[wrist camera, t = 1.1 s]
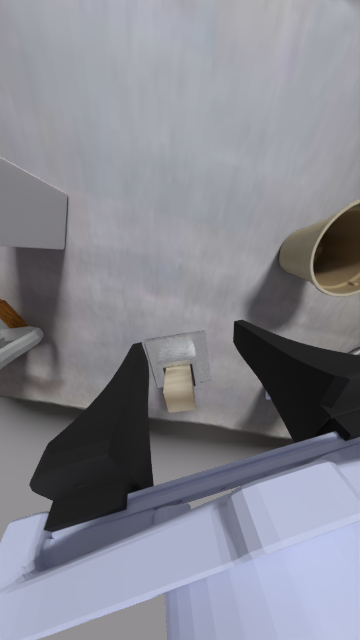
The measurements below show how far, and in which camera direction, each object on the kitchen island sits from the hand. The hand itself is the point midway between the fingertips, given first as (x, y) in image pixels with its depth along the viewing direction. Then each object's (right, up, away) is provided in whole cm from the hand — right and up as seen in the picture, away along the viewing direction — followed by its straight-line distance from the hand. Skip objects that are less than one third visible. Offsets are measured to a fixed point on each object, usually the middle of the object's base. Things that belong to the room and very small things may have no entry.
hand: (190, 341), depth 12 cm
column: (-1, -6, +18) cm, 19 cm away
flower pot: (+17, +12, +12) cm, 24 cm away
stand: (-1, -6, +19) cm, 20 cm away
